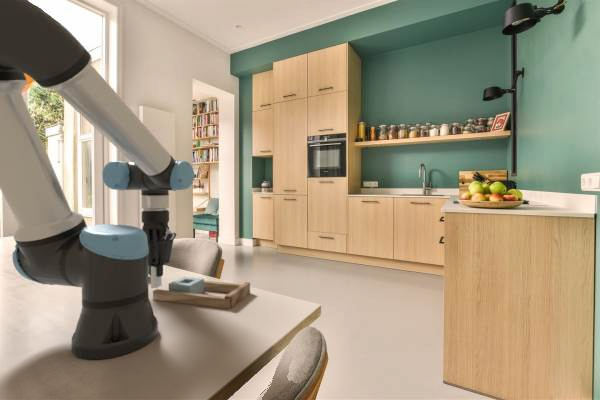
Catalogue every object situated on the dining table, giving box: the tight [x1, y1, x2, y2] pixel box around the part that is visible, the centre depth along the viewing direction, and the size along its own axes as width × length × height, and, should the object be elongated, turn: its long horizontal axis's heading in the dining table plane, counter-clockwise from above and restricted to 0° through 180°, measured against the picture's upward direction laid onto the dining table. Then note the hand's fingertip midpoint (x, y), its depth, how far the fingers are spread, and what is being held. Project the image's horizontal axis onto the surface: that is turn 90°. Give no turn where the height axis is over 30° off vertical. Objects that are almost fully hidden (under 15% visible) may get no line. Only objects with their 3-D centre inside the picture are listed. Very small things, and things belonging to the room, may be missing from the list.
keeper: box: [168, 276, 205, 294], centre depth 89 cm, size 7×7×4 cm
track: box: [152, 280, 251, 310], centre depth 87 cm, size 12×24×3 cm, turn 75°
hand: (156, 286), depth 91 cm, fingers closed
